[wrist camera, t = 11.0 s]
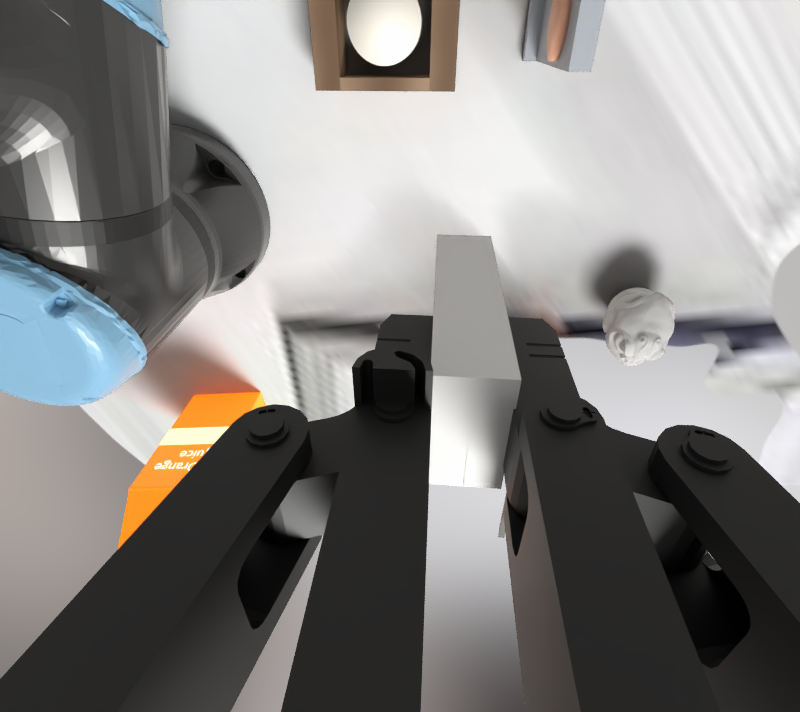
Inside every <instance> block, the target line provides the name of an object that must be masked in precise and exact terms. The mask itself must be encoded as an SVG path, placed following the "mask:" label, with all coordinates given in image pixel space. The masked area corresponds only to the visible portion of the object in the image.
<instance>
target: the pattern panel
mask: <svg viewBox="0 0 800 712" xmlns="http://www.w3.org/2000/svg"><path fill="white" fill-rule="evenodd" d="M605 1H606V0H530V3H529V10H528V18H527V26H526V34H525V42H524V50H523V58H522V60H523V61H538V62H541V63H544V64H547V65H550V66H552V67H555V68H558V69H561V70H564V71H567V72H591V71H592V66H593V61H594V56H595V51H596V46H597V41H598V36H599V31H600V26H601V21H602V16H603V11H604V6H605Z"/></svg>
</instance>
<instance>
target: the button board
mask: <svg viewBox="0 0 800 712" xmlns="http://www.w3.org/2000/svg"><path fill="white" fill-rule="evenodd" d="M418 1H419V4H420V6H421V10H422V16H423V27H422V33H421V37H420V40H419V42H418V44H417V46H416V48H415V49H414V51H413V52H412V53H411V54H410V55H409V56H408V57H407V58H405V59H404V60H402V61H401V62H399V63H397V64H394V65H391V66H378V65H375V64H372V63H370V62H368V61H366V60H365V59H364V58H363V57H362V56H361V55H360V54H359V53H358V52H357V51H356V49H355V48H354V46H353V44H352V42H351V40H350V37H349V34H348V29H347V10H348V5H349V2H350V0H308V8H309V19H310V30H311V41H312V52H313V63H314V73H315V84H316V90H327V91H455V76H456V59H457V42H458V24H459V7H460V0H418Z"/></svg>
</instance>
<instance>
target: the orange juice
mask: <svg viewBox="0 0 800 712" xmlns="http://www.w3.org/2000/svg"><path fill="white" fill-rule="evenodd" d="M262 406H266V405H265V402H264V399H263V397H262V394H261V392H248V393H226V394H205V395H194V396H193V398H192V399H191V400H190V402H189V403H188V405H187V406H186V408H185V409H184V410H183V412H182V413H181V415H180V416H179V418H178V419H177V421H176V422H175V423H174V425H173V426H172V428H171V429H170V430H169V431H168V433H167V434H166V435H165V437H164V438H163V440H162V441H161V443H160V444H159V446H158V448H157V449H156V451H155V452H154V454H153V455H152V457H151V458H150V459H149V461H148V462H147V464H146V465H145V467H144V468H143V470H142V471H141V472H140V474H139V475H138V477H137V478H136V480H135V481H134V483H133V484H132V485H131V487H130V488H129V495H128V500H127V505H126V510H125V516H124V520H123V525H122V531H121V536H120V542H119V546H118V549H119V548H120V547H121V546H122V544H123V543H124V542H125V541H126V540H127V539H128V538H129V537H130V536H131V534H132V533H133V532H134V531H135V530H136V529H137V528H138V527H139V526H140V525H141V523H142V522H143V521H144V520H145V519H146V518H147V517H148V516H149V515H150V514H151V512H152V511H153V510H154V509H155V508H156V507H157V506H158V505H159V504H160V502H161V501H162V500H163V499H164V498H165V497H166V496H167V495H168V494H169V493H170V491H171V490H172V489H173V488H174V487H175V486H176V485H177V484H178V483H179V482H180V480H181V479H182V478H183V477H184V476H185V475H186V474H187V473H188V472H189V471H190V469H191V468H192V467H193V466H194V465H195V464H196V463H197V462H198V461H199V459H200V458H201V457H202V456H203V455H204V454H205V453H206V452H207V451H208V450H209V448H210V447H211V446H212V445H213V444H214V443H215V442H216V441H217V440H218V439H219V437H220V436H221V435H222V434H223V433H224V432H225V431H226V430H227V429H228V427H229V426H230V425H231V424H232V423H233V422H234V421H235V420H237V419H238V418H239V417H240V416H242V415H243V414H244V413H246V412H249V411H251V410H253V409H256V408H258V407H262Z"/></svg>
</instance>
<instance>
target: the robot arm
mask: <svg viewBox="0 0 800 712" xmlns="http://www.w3.org/2000/svg"><path fill="white" fill-rule="evenodd" d="M166 48H169V39H168V37H167V35H166V33H165V32H164V29H163V18H162V8H161V0H0V391H2V392H5V393H7V394H10V395H13V396H16V397H19V398H22V399H26V400H30V401H34V402H39V403H43V404H50V405H62V406H72V405H82V404H88V403H92V402H95V401H98V400H99V399H102V398H104V397H106V396H108V395H110V394H111V393H113V392H114V391H115V390H117V389H118V388H119V387H120V386H121V385H122V384H123V383H124V382H126V381H127V380H128V379H129V378H130V377H131V376H133V375H135V374H137V373H138V372H139V371H141V370H142V368H143V367H144V365H145V364H146V362H145V361H147V359H148V358H149V357H150V356H151V355H152V353H153V352H154V351H155V350H156V349H157V348H158V347H159V346H160V345H161V343H162V342H163V341H164V340H165V339H166V338H167V337H168V336H169V335H170V334H171V332H172V331H173V330H174V329H175V328H176V327H177V326H178V325H179V324H180V322H181V321H182V320H183V319H184V318H185V317H186V316H187V315H188V314H189V313H190V311H191V310H192V309H193V308H194V307H195V306H196V305H197V304H198V302H199V301H200V300H201V299H204V298H207V297H210V296H213V295H216V294H219V293H222V292H225V291H228V290H230V289H232V288H234V287H236V286H237V285H239V284H240V283H242V282H243V281H244V280H246V279H247V278H248V277H249V276H250V274H251V273H252V272H253V271H254V270H255V268H256V267H257V266H258V265H259V263H260V262H261V260H262V259H263V257H264V255H265V252H266V250H267V247H268V243H269V237H270V219H269V212H268V208H267V204H266V201H265V198H264V195H263V193H262V191H261V189H260V187H259V185H258V183H257V181H256V179H255V178H254V176H253V175H252V173H251V172H250V170H249V169H248V168H247V167H246V165H245V164H244V163H243V162H242V161H241V160H240V159H239V158H238V157H237V156H236V155H235V154H234V153H233V152H232V151H231V150H230V149H228V148H227V147H226V146H225V145H223V144H222V143H221V142H219V141H217V140H216V139H214V138H213V137H211V136H209V135H207V134H205V133H203V132H200V131H198V130H195V129H192V128H189V127H184V126H179V125H169V108H168V85H167V63H166ZM560 346H561V344H560V341H559V339H558V336H557V333H556V331H555V330H554V329H553V328H552V327H551V326H550V325H549V324H548V323H546V322H545V321H544V320H543V319H534V318H510V317H508V314H507V310H506V305H505V300H504V296H503V291H502V286H501V281H500V277H499V272H498V267H497V263H496V258H495V253H494V249H493V244H492V239H491V236H467V235H437V250H436V271H435V291H434V312H433V316H422V315H397V314H391V315H390V316H389V317H388V318H387V319H386V320H385V321H384V322H383V323H382V324H381V325H380V329H379V334H378V339H377V343H376V347H375V350H371V351H368V352H366V353H365V354H363V355H362V356H360V357H359V358H358V359H357V360H356V362H355V363H354V365H353V367H352V373H353V386H354V400H355V407H354V408H352V409H351V410H349V411H347V412H345V413H343V414H341V415H338V416H335V417H331V418H327V419H321V420H316V421H310V422H308V420H307V418H306V417H305V416H304V415H303V413H302V412H301V411H300V410H297V409H295V408H293V407H290V406H286V405H268V406H262V407H258V408H256V409H253V410H251V411H249V412H246V413H244V414H243V415H242V416H240V417H239V418H238V419H237V420H235V421H234V422H233V423H232V424H231V425H230V426H229V427H228V429H227V430H226V431H225V432H224V433H223V434H222V435H221V436H220V437H219V439H218V440H217V441H216V442H215V443H214V444H213V445H212V446H211V447H210V448H209V450H208V451H207V452H206V453H205V454H204V455H203V456H202V457H201V458H200V459H199V461H198V462H197V463H196V464H195V465H194V466H193V467H192V468H191V469H190V471H189V472H188V473H187V474H186V475H185V476H184V477H183V478H182V479H181V480H180V482H179V483H178V484H177V485H176V486H175V487H174V488H173V489H172V490H171V491H170V493H169V494H168V495H167V496H166V497H165V498H164V499H163V500H162V501H161V502H160V504H159V505H158V506H157V507H156V508H155V509H154V510H153V511H152V512H151V514H150V515H149V516H148V517H147V518H146V519H145V520H144V521H143V522H142V523H141V525H140V526H139V527H138V528H137V529H136V530H135V531H134V532H133V533H132V534H131V536H130V537H129V538H128V539H127V540H126V541H125V542H124V543H123V544H122V546H121V547H120V548H119V549H118V550H117V551H116V552H115V553H114V554H113V555H112V557H111V558H110V559H109V560H108V561H107V562H106V563H105V564H104V565H103V567H102V568H101V569H100V570H99V571H98V572H97V573H96V574H95V575H94V576H93V578H92V579H91V580H90V581H89V582H88V583H87V584H86V585H85V586H84V587H83V589H82V590H81V591H80V592H79V593H78V594H77V595H76V596H75V597H74V599H73V600H72V601H71V602H70V603H69V604H68V605H67V606H66V607H65V608H64V610H63V611H62V612H61V613H60V614H59V615H58V616H57V617H56V618H55V619H54V621H53V622H52V623H51V624H50V625H49V626H48V627H47V628H46V629H45V631H44V632H43V633H42V634H41V635H40V636H39V637H38V638H37V639H36V640H35V642H34V643H33V644H32V645H31V646H30V647H29V648H28V649H27V650H26V652H25V653H24V654H23V655H22V656H21V657H20V658H19V659H18V660H17V661H16V662H15V664H14V665H13V666H12V667H11V668H10V669H9V670H8V671H7V672H6V674H5V675H4V676H3V677H2V678H1V679H0V712H230V711H231V709H232V708H233V706H234V704H235V702H236V700H237V698H238V696H239V694H240V692H241V690H242V688H243V687H244V685H245V683H246V681H247V679H248V677H249V675H250V673H251V671H252V670H253V667H254V666H255V664H256V662H257V660H258V658H259V656H260V654H261V652H262V650H263V648H264V647H265V645H266V643H267V641H268V639H269V637H270V635H271V633H272V631H273V629H274V628H275V626H276V624H277V622H278V620H279V618H280V616H281V614H282V612H283V610H284V609H285V607H286V605H287V603H288V601H289V599H290V597H291V595H292V593H293V591H294V590H295V588H296V585H297V584H298V582H299V580H300V578H301V576H302V574H303V572H304V571H305V568H306V567H307V565H308V563H309V561H310V559H311V557H312V555H313V553H314V551H315V550H316V548H317V546H318V544H319V542H320V540H321V537H322V535H324V536H323V540H322V544H321V549H320V552H319V557H318V561H317V565H316V569H315V574H314V577H313V582H312V586H311V590H310V594H309V598H308V602H307V606H306V611H305V615H304V619H303V623H302V627H301V631H300V635H299V639H298V643H297V648H296V652H295V656H294V661H293V664H292V669H291V672H290V677H289V681H288V685H287V689H286V693H285V697H284V702H283V706H282V710H281V712H420V709H421V682H422V654H423V627H424V601H425V600H424V599H425V573H426V547H427V544H426V543H427V520H428V493H429V484H437V485H452V486H467V487H483V488H498V489H501V486H502V481H503V476H505V483H506V491H507V493H506V498H505V503H504V508H503V513H502V518H501V523H500V528H499V536H498V537H503V538H504V536H505V533H506V541H507V550H508V559H509V568H510V577H511V585H512V595H513V603H514V612H515V621H516V630H517V639H518V647H519V656H520V665H521V674H522V683H523V692H524V701H525V709H526V712H800V503H799V502H798V501H797V500H796V499H795V498H794V497H793V496H792V495H791V494H790V493H788V492H787V491H786V490H785V489H784V488H783V487H782V486H781V485H780V484H779V483H778V482H777V481H776V480H775V479H774V478H773V477H772V476H771V475H770V474H769V473H768V472H767V471H766V470H765V469H764V468H763V467H762V466H761V465H760V464H759V463H758V462H756V461H755V460H754V459H753V458H752V457H751V456H750V455H749V454H748V453H747V452H746V451H745V450H744V449H742V448H741V447H740V446H739V445H737V444H736V443H735V442H733V441H732V440H731V439H729V438H727V437H725V436H723V435H721V434H719V433H717V432H715V431H713V430H709V429H706V428H702V427H698V426H694V425H677V426H673V427H670V428H667V429H665V430H664V431H663V432H662V433H661V435H660V436H659V437H658V439H657V441H652V440H648V439H645V438H641V437H637V436H634V435H630V434H626V433H624V432H620V431H618V430H615V429H612V428H610V427H608V426H607V425H606V424H605V421H604V419H603V417H602V416H601V414H600V413H599V412H598V410H597V409H596V408H595V407H594V406H592V405H591V404H590V403H588V402H587V401H586V400H583V399H581V398H580V396H579V394H578V391H577V388H576V385H575V383H574V380H573V377H572V375H571V372H570V369H569V366H568V363H567V361H566V359H565V355H564V352H563V350H562V348H561V347H560ZM708 552H709V553H710V554H711V556H712V557H713V558H714V559H713V558H712V557H711V556H710V554H709V553H708Z"/></svg>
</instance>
